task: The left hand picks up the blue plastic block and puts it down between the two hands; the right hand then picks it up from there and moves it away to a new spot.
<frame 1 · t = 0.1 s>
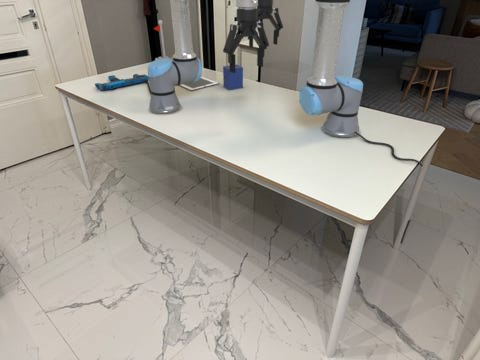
left hand: (246, 69, 131), 28 cm above the table, tool pointing down, fingers open, 13 cm apart
right hand: (263, 45, 167), 28 cm above the table, tool pointing down, fingers open, 13 cm apart
block: (233, 87, 201), on the table
submachine gun: (124, 82, 209), on the table
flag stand: (165, 66, 240), on the table
tablet: (190, 81, 211), on the table
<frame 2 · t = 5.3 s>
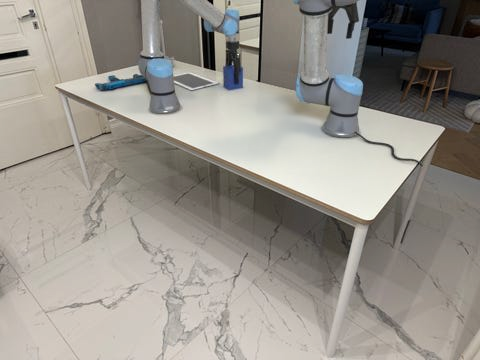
left hand: (233, 81, 200), 3 cm above the table, tool pointing down, fingers closed on block, 8 cm apart
right hand: (338, 36, 162), 33 cm above the table, tool pointing down, fingers open, 13 cm apart
block: (233, 87, 201), on the table, touching left hand
everything else where it was.
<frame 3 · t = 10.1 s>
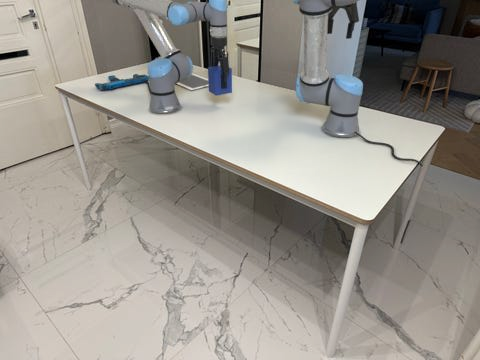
left hand: (220, 85, 166), 12 cm above the table, tool pointing down, fingers closed on block, 8 cm apart
right hand: (338, 36, 162), 33 cm above the table, tool pointing down, fingers open, 13 cm apart
block: (220, 91, 168), point 9 cm above the table, touching left hand
everything else where it was.
when the left hand's fingers open (4 cm above the table, at t = 14.7 s): block drops 1 cm, on the table.
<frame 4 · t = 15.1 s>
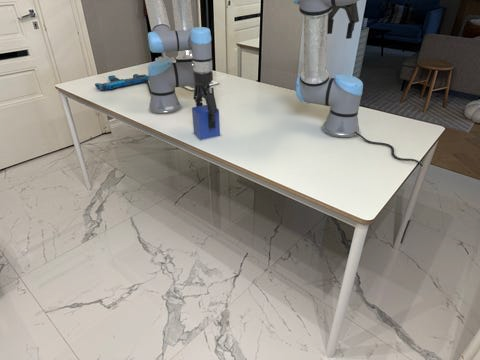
left hand: (206, 122, 144), 6 cm above the table, tool pointing down, fingers open, 12 cm apart
right hand: (338, 36, 162), 33 cm above the table, tool pointing down, fingers open, 13 cm apart
block: (206, 134, 147), on the table
everything else where it was.
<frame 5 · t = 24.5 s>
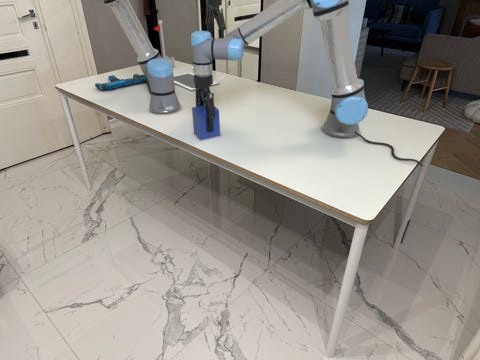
left hand: (216, 41, 179), 27 cm above the table, tool pointing down, fingers open, 13 cm apart
right hand: (206, 127, 145), 3 cm above the table, tool pointing down, fingers closed on block, 8 cm apart
block: (206, 134, 147), on the table, touching right hand
everything else where it was.
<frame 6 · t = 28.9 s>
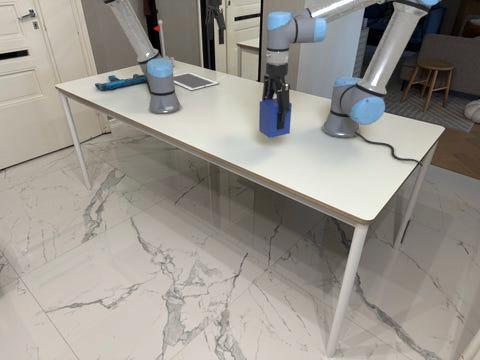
left hand: (216, 41, 179), 27 cm above the table, tool pointing down, fingers open, 13 cm apart
right hand: (274, 124, 128), 11 cm above the table, tool pointing down, fingers closed on block, 8 cm apart
block: (274, 132, 130), point 8 cm above the table, touching right hand
everything else where it was.
when the right hand's fingers open (4 cm above the table, at t = 33.4 s): block drops 1 cm, on the table.
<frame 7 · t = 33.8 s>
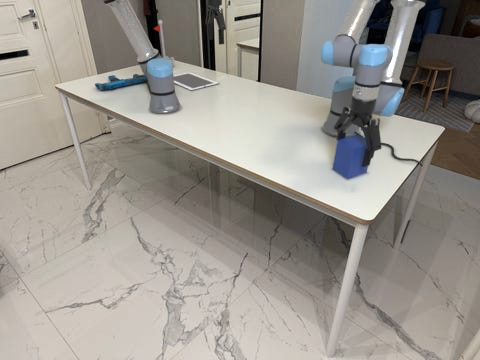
left hand: (216, 41, 179), 27 cm above the table, tool pointing down, fingers open, 13 cm apart
right hand: (352, 157, 118), 6 cm above the table, tool pointing down, fingers open, 12 cm apart
block: (349, 171, 121), on the table
everything else where it was.
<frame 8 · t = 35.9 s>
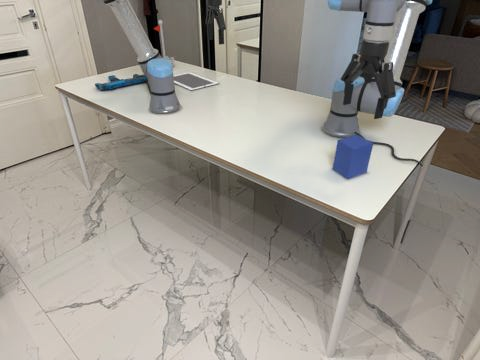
left hand: (216, 41, 179), 27 cm above the table, tool pointing down, fingers open, 13 cm apart
right hand: (361, 110, 109), 23 cm above the table, tool pointing down, fingers open, 13 cm apart
nothing on the table moved.
at the end: block inside the target area (0.1 cm from its centre), on the table; block tilted 0°; the two hands never held the block at the same time; the left hand is holding nothing; the right hand is holding nothing; block at rest at the end (0.0 cm/s) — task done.
